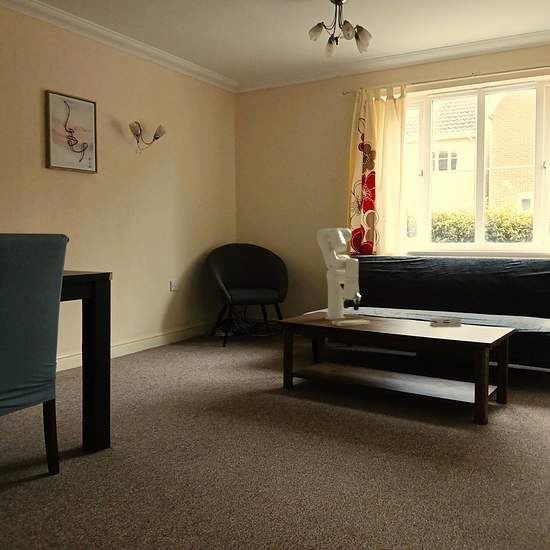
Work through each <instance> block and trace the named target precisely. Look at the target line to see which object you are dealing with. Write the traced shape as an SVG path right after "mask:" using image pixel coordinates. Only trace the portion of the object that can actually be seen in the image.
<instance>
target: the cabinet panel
mask: <svg viewBox="0 0 550 550" xmlns="http://www.w3.org/2000/svg"><path fill="white" fill-rule="evenodd" d="M331 322H332V325H334V326H337V327H339V326H340V327H347V326H348V327H349V326H350V325H351V326H361V324H364V325H371V324H372V323H371V320H366V319H362V316H356V317H355V316H353V317H352V316H351V317H346V318H333V319H332V320H331ZM351 326H350V327H351Z"/></svg>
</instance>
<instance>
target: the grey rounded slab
mask: <svg viewBox="0 0 550 550" xmlns="http://www.w3.org/2000/svg"><path fill="white" fill-rule="evenodd" d="M461 320H462V319H461V317H459V318H457V317H456V318H450V317H449V318H448V317H447V318H430V319H429V321H430V323H429V324H430V325H429V326H432V327H433V326H434V328H441V327H442V328H447V327H448V328H453V327H454V328H457V327H458V328H459V327H460V326H462V322H461ZM460 328H461V327H460Z"/></svg>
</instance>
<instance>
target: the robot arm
mask: <svg viewBox="0 0 550 550" xmlns="http://www.w3.org/2000/svg"><path fill="white" fill-rule="evenodd" d="M352 236H353V234H352V232H351V229H350V228H348V227H333V228H321V229H319V230H318V231H317V233H316V240H317V243H318V247H319V248H320V250H321V253H322V257H323V259H324V263H325V266H326V268H327V269H328V270H327V272H326V280H327V312H326V313H325V314H326V315H327V316H325V319H326V320H331V321H332V319H333V318H347V317H346V316H344V309H350V302H349V300H351V301H353V302H354V303H353V311H359V309H360V308H359V307H360V306H359V305H360V302H361V298H362V296H361V295H360V287H359V265H360V264H359V259H357V258H353V257H350V256H349V255H347V254H342V253H344V252H345V251H346V250H347V248H348V245H347V243H348V242H350V241H351V240H352ZM342 284H343V288H342V286H341V285H342Z"/></svg>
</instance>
